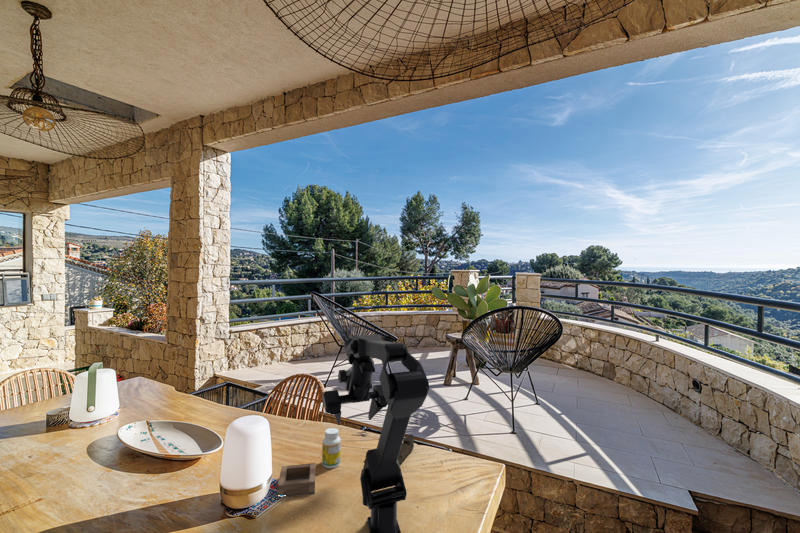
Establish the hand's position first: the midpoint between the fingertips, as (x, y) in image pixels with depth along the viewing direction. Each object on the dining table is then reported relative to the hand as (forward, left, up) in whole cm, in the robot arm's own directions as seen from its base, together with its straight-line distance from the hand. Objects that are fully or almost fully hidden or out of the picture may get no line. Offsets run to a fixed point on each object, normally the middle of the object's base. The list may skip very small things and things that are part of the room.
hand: (353, 421), depth 98 cm
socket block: (-4, +15, -14) cm, 21 cm away
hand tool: (+4, -15, -14) cm, 21 cm away
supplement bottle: (+5, +6, -14) cm, 16 cm away
